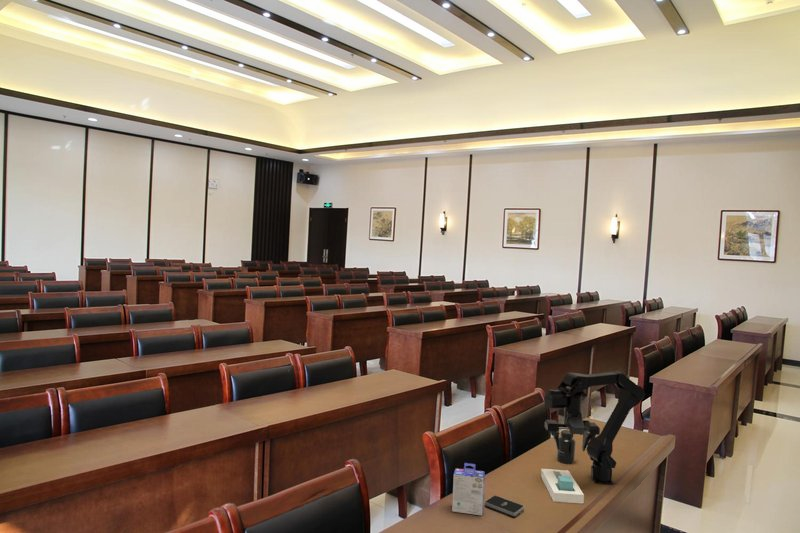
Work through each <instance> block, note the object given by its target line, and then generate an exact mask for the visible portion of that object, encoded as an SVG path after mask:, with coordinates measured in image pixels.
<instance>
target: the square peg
mask: <svg viewBox="0 0 800 533" xmlns="http://www.w3.org/2000/svg"><path fill="white" fill-rule="evenodd" d="M557 488H558V490H562V491H573V481H572V479H571V477H566V476H558V484H557Z"/></svg>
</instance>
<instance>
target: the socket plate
mask: <svg viewBox="0 0 800 533" xmlns="http://www.w3.org/2000/svg"><path fill="white" fill-rule="evenodd" d="M540 471H541V472H540V477H541V479H542V481H543V484H544V486H545V487H546V489H547V492H548V493H549V495H550V498H551V499H552V502H554V503H556V502H557V503H569V504H579V505H580V504H581V505H583V504H584V502H585V500H584V499H585V494H584V493H583V491H582V490H581V488H580V486H579V484H578V483H577V482H576V480H575V479H574V477H573V476H572V473H571V472H570V471H569V470H567V469H566V470H565V469H564V470H563V469H551V468H541V470H540ZM558 476H566V477H571V479H572V481H573V491H562V490H558V488H557V484H558Z"/></svg>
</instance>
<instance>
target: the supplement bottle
mask: <svg viewBox="0 0 800 533" xmlns="http://www.w3.org/2000/svg"><path fill="white" fill-rule="evenodd" d="M556 449H557V448H556ZM575 452H576V440H575V439H574V434H571V433H570V431H569V429H561V431H560V436H559V450H558V449H557V452H556V460H557V461H558V462H560V463H563V464H566V465H571V464H574V462H575V456H576V453H575Z"/></svg>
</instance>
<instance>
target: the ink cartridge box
mask: <svg viewBox="0 0 800 533" xmlns="http://www.w3.org/2000/svg"><path fill="white" fill-rule="evenodd" d="M463 464H464V466H463V468H455V469H454V472H453V478H452V482H453V483H452V501H451V502H452V503H451V505H452V507H451V512H454V513H461V514H467V515H476V516H483V513H484V506H485V501H484V500H485V483H486V482H485V479H486V476H485V475H486V474H485V473H486V472H485V471H483V470H476V464H475V463H469V462H464V463H463ZM468 467H469V468H468ZM470 467H472V468H470Z"/></svg>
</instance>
